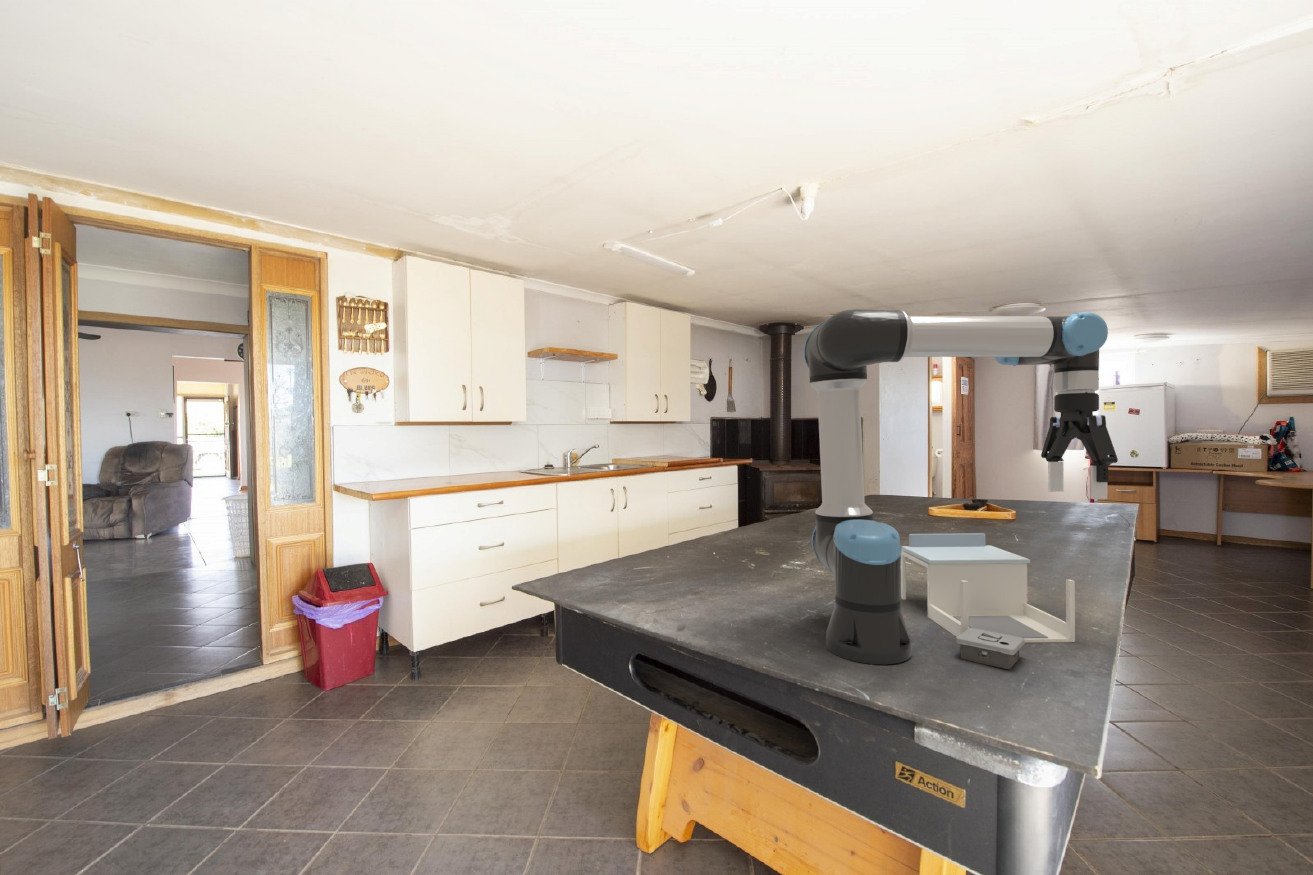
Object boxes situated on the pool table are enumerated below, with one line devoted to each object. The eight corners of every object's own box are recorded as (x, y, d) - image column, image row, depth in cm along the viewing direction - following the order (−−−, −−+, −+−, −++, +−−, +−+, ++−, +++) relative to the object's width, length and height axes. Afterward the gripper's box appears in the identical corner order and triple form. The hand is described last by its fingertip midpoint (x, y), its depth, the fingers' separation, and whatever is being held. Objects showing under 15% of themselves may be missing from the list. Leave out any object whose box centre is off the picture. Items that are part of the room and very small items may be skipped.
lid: (930, 563, 125) (930, 546, 125) (901, 549, 140) (901, 534, 140) (1029, 563, 124) (1029, 545, 124) (990, 548, 140) (990, 533, 140)
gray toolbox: (1015, 651, 97) (956, 629, 103) (1008, 680, 97) (951, 656, 104) (1027, 638, 103) (971, 618, 110) (1021, 665, 104) (966, 644, 110)
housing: (963, 642, 111) (963, 581, 111) (901, 598, 141) (901, 550, 140) (1075, 642, 111) (1074, 580, 111) (989, 598, 140) (989, 549, 140)
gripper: (1141, 388, 106) (1141, 502, 106) (1057, 396, 131) (1057, 488, 131) (1098, 388, 106) (1098, 502, 106) (1023, 396, 131) (1023, 488, 131)
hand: (1076, 495), depth 119 cm, fingers open, 13 cm apart
